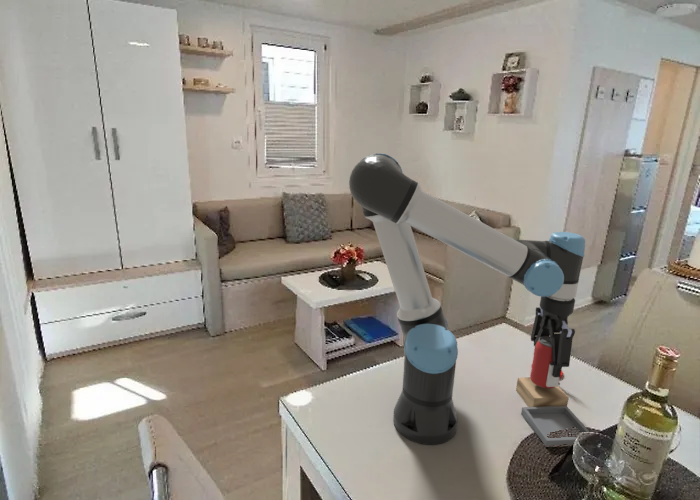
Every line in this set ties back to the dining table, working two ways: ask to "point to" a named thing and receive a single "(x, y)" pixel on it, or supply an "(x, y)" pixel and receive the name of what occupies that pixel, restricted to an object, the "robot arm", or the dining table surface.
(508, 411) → the dining table surface
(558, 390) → the block
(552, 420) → the charcoal tray
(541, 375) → the beer can
